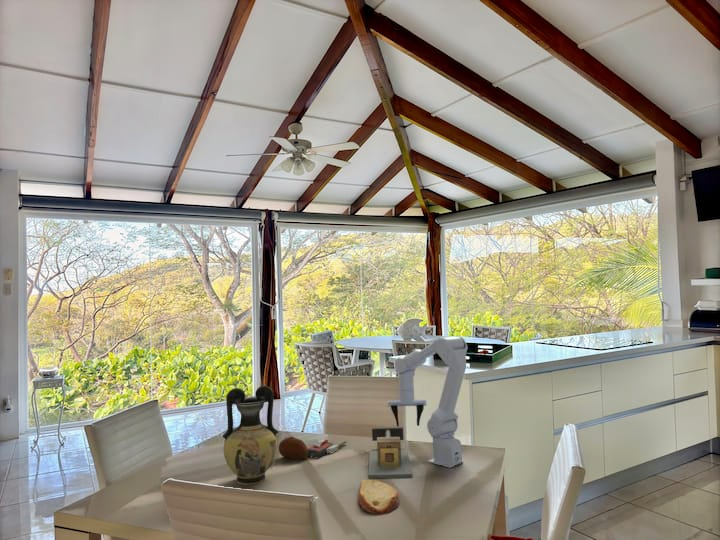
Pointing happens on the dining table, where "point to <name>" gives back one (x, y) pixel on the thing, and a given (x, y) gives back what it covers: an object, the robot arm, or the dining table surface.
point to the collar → (389, 450)
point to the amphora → (250, 436)
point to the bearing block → (388, 442)
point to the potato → (293, 448)
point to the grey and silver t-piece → (387, 433)
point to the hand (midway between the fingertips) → (407, 425)
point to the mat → (389, 472)
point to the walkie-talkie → (323, 448)
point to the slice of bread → (377, 497)
